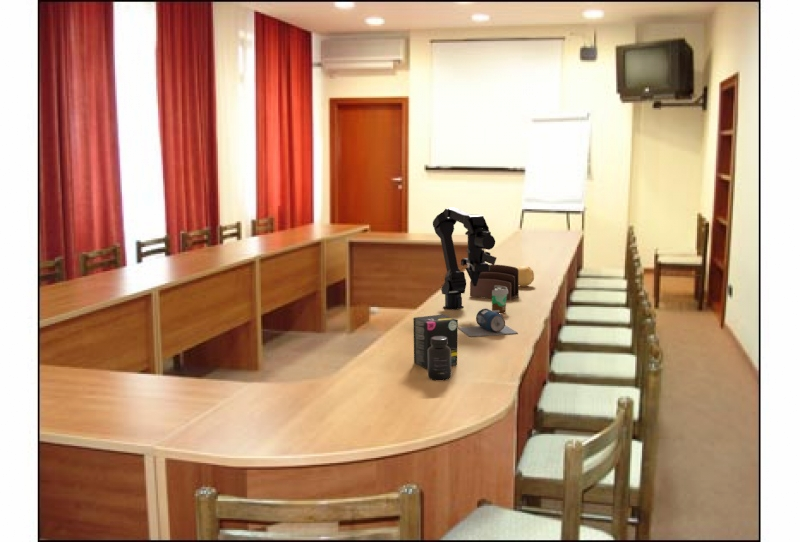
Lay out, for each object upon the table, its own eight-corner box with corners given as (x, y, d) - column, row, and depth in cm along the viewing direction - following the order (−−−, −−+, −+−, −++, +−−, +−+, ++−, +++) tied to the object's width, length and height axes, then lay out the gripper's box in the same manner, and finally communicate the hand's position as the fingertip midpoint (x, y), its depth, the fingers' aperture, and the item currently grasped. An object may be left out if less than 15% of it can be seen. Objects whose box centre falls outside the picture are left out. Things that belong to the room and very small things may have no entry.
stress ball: (511, 288, 370) (516, 277, 361) (511, 271, 375) (516, 260, 367) (531, 291, 370) (536, 281, 362) (531, 274, 376) (536, 263, 367)
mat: (458, 328, 284) (458, 327, 284) (504, 325, 288) (504, 324, 288) (469, 337, 271) (469, 336, 271) (517, 333, 275) (517, 332, 275)
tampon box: (427, 370, 230) (427, 323, 228) (412, 363, 239) (412, 317, 236) (458, 365, 235) (458, 318, 233) (443, 358, 244) (443, 313, 241)
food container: (507, 315, 305) (507, 290, 304) (491, 315, 307) (491, 290, 305) (509, 309, 317) (509, 285, 316) (494, 308, 319) (494, 285, 317)
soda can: (494, 320, 287) (509, 326, 276) (479, 329, 285) (494, 336, 274) (486, 304, 285) (501, 310, 274) (471, 314, 283) (486, 320, 272)
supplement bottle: (426, 374, 226) (426, 335, 224) (449, 373, 227) (449, 334, 225) (429, 381, 219) (428, 340, 218) (452, 380, 220) (452, 340, 218)
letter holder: (478, 293, 355) (478, 263, 352) (519, 296, 345) (519, 265, 343) (469, 297, 346) (469, 266, 344) (511, 300, 336) (511, 268, 334)
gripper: (502, 248, 295) (502, 288, 297) (486, 243, 313) (486, 281, 315) (474, 250, 292) (474, 290, 295) (460, 244, 310) (460, 282, 313)
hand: (474, 285), depth 304 cm, fingers closed
